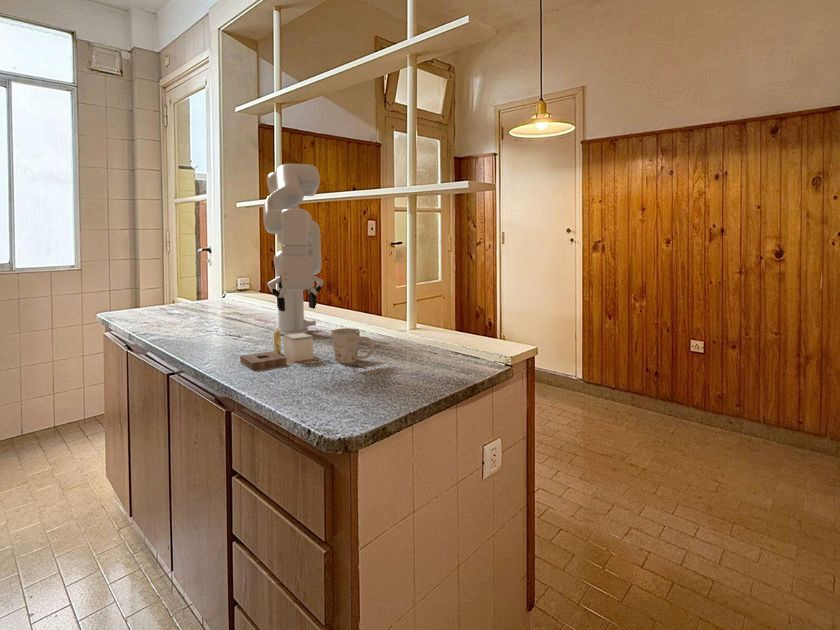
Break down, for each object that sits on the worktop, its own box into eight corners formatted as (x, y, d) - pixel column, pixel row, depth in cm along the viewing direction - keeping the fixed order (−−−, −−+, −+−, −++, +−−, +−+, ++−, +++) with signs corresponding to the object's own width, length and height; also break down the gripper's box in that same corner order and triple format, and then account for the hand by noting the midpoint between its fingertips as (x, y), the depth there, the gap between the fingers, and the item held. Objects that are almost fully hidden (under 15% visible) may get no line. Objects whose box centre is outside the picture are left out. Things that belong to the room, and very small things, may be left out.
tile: (307, 355, 164) (306, 337, 163) (321, 362, 156) (320, 342, 155) (276, 360, 158) (275, 341, 157) (290, 367, 150) (289, 347, 149)
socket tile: (273, 360, 157) (273, 351, 157) (286, 367, 149) (286, 357, 149) (240, 365, 151) (240, 355, 151) (252, 373, 143) (252, 363, 143)
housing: (304, 354, 161) (303, 332, 160) (313, 358, 156) (312, 336, 155) (284, 357, 157) (283, 334, 156) (293, 361, 152) (292, 338, 151)
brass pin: (279, 355, 164) (278, 330, 162) (282, 356, 162) (281, 331, 161) (273, 356, 162) (272, 331, 161) (276, 357, 161) (275, 332, 159)
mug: (333, 360, 158) (332, 328, 157) (374, 359, 159) (374, 328, 158) (330, 367, 150) (330, 334, 148) (374, 367, 151) (374, 333, 149)
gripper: (316, 250, 159) (318, 305, 162) (261, 251, 149) (264, 310, 152) (328, 251, 154) (329, 308, 156) (271, 252, 143) (274, 313, 146)
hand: (297, 309), depth 154 cm, fingers open, 9 cm apart
